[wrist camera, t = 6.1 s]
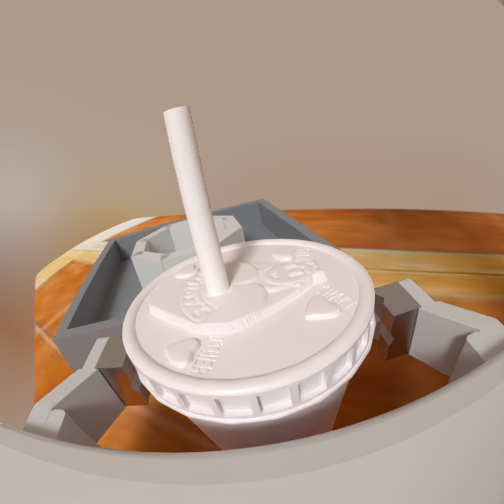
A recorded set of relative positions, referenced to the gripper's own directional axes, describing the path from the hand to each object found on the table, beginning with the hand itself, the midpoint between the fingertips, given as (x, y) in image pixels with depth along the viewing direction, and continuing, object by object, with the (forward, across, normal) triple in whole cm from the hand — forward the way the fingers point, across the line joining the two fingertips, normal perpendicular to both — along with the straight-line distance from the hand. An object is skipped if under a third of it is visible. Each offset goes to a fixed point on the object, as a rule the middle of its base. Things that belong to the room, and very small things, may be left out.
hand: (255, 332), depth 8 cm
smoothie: (-1, 0, +8) cm, 8 cm away
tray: (+18, +6, +8) cm, 21 cm away
